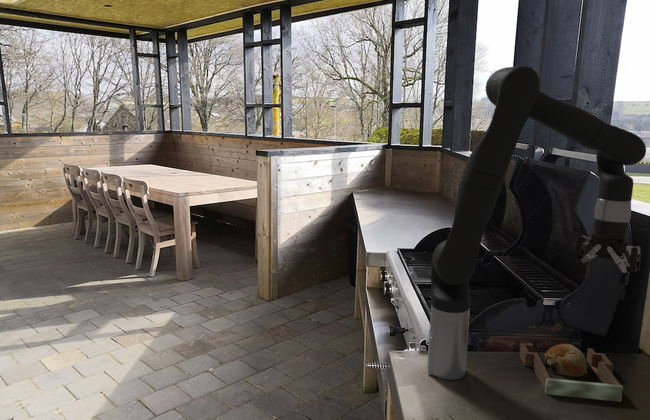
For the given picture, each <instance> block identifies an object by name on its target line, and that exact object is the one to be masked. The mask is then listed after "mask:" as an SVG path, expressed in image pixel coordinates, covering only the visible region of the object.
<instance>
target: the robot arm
mask: <svg viewBox="0 0 650 420" xmlns="http://www.w3.org/2000/svg"><path fill="white" fill-rule="evenodd" d="M540 88H541V80H540V77H539V75H538V73H537V72H536V70H535V69H533V68H532V67H531V66H528V65H527V66H526V65H514V66H508V67H502V68H500V69H498V70H496V71H494V72H493V73H491V75H490V76H489V77H488V79H487V80H486V84H485V94H486V96H487V99H488V101H489V102H490V103H491V104H492V105H494V106H495V108H494V110H493V114H492V117H491V120H490V123H489V125H488V128H487V129H486V131H485V132H484V134H483V135H482V137H481V138H480V140H479V141H478V142H477V145H475V146H474V149H473V150H472V152H471V153H470V155H469V157H468V158H467V160H466V163H465V167H464V169H463V170H462V171H463V172H462V175H461V177H460V181H459V183H458V189H457V194H456V200H455V208H454V215H453V222H452V226H451V228H450V232H449V234H448V235H447V236H448V237H447V238H446V240H442V241H441V242H440V243H439V244H437V245H436V247H435V249H434V250H433V252H432V253H433V254H432V259H431V276H430V277H431V279H430V282H431V284H430V292H431V293H430V294H431V304H430V305H431V306H430V320H429V321H430V322H429V331H428V345H427V346H428V347H427V348H428V349H427V350H428V351H427V354H428V355H427V374H428V375H430V376H435V377H436V378H438V379H439V378H440V379H443V380H450V381H451V380H460V379H462V378H464V377H465V375H466V369H467V355H468V354H467V353H468V341H469V324H470V311H471V294H470V293H471V292H470V278H472V276H473V274H474V272H475V271H476V265H477V261H478V257H479V252H480V248H481V244H482V241H483V237H484V233H485V231H486V228H487V225H488V223H489V221H490V219H491V216H492V214H493V211H494V209H495V206H496V203H497V201H498V198H499V196H500V194H501V190H502V189H503V185H504V182H505V179H506V176H507V173H508V170H509V166H510V164H511V161H512V159H513V156H514V154H515V153H514V152H515V150H516V148H517V147H516V146H517V145H518V144H517V143H518V141H519V139H520V136H521V133H522V131H523V128H524V127H525V124H526V122H527V120H528V118H529V119H532V120H533V121H536V122H538V123H540V124H542V125H544V126H545V127H547V128H549V129H551V130H552V131H554V132H556V133H558V134H559V135H561V136H563V137H565V138H566V139H568V140H570V141H572V142H574V143H576V144H578V145H579V146H581V147H582V148H584V149H588V150H594V151H596V154H595V155H596V165H597V175H598V179H599V184H598V192H597V199H596V203H595V207H594V216H593V223H592V230H591V234H592V235H591V237H588V236H587V235H586V234H585V235H579V236H578V237H577V241H576V247H575V252H574V258H575V259H576V260H579V261H581V262H580V263H581V266H580V267H581V268H580V274H581V275H582V278H585V279H588V278H589V277H590V273H591V265H592V262H591V261H592V260H593V259H595V257H597V258H600V259H607V260H609V261H614V263H615V265H616V266H618V268H619V270H620V272H619V277H618V284H617V286H618V288H621V289H622V288H624V287H626V286H628V284H629V278H630V274H631V273H635V272H638V271H640V269H641V259H642V247H641V246H640V245H637V246H633V245H628V236H629V231H630V230H629V228H630V222H631V218H632V198H633V191H634V179H633V178H632V177H631V176H629V175H628V174H627V173H625V166H632V165H636V164H638V163H640V162H641V161H642V160H643V159H644V158H645V156H646V153H647V146H646V144H645V141H644V140H643V139H642V138H641V137H640V136H638V135H637V134H635V133H633V132H630V131H628V130H626V129H623V128H620V127H618V126H616V125H612V124H609V123H608V122H605V121H603V120H602V119H601V118H599V117H597V116H596V115H594V114H592V113H590V112H589V111H587V110H584V109H583V108H580V107H577V106H576V105H573V104H570V103H567V102H565V101H563V100H562V101H561V100H559V99H557V98H554V97H552V96H550V95H547V94H546V93H544V92H542V91H540ZM587 245H590V247H591V248H592V249H591V250H589V252H587V254H585V252H586V246H587ZM626 251H627V252H628V254H629V256H630V261H629V262H630V263H629V262H628V259H627V257H626V255H625V254H624V253H625V252H626Z"/></svg>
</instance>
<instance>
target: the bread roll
mask: <svg viewBox="0 0 650 420" xmlns="http://www.w3.org/2000/svg"><path fill="white" fill-rule="evenodd" d="M543 365H544V367H545V368H547V369H548V370H549V371H551V372H553V373H555V374H558V375H561V376H565V377H569V378H570V377H574V378H576V377H582V376H585V375H587V374H588V370H587V368H588V367H587V359H586V357H585V354H584V353H583V352H582V351H581V350H580V349H579V348H577V347H576V346H574V345H572V344H568V343H560V344H556V345H554V346H551V347H550V348H549V349H548V350H546V351H545V353H544V354H543Z"/></svg>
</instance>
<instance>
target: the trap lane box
mask: <svg viewBox="0 0 650 420" xmlns="http://www.w3.org/2000/svg"><path fill="white" fill-rule="evenodd" d="M519 345H520V346H519V357H520V360H521V363H522V364H523V366H524V367H529V368H530V367H532V368H533V371H534V373H535V375H536V376H537V378H538V381H539V383H540V385H541V388H542V389H543V391H544V393H545V395H549V396H560V397H571V398H579V399H580V398H581V399H588V400H590V399H591V400H600V401H609V402H621V403H622V397H623V391H624V386H623V385H621V383H620V382H619V381H618V379H617V378H616V377H615V376H614V374H613V369H614V364H613V363H612V362H611V360H610V359H609V358H608V356H606V354H605V353H602V352H601V353H600V352H595V351H594V349H593V348H589V347H588V348H587V353H586V354H587V355H586V363H588V364H589V366H590V367H591V368H592V370H593V372H594V373H595V374H596V376H597V377H598V378H599V380H600V381H601V382H602V383H601V382H593V381H592V382H591V381H582V380H580V381H579V380H570V379H562V378H561V379H560V378H559V379H558V378H552V377H550V374H549V373H548V371H547V369H546V366H545V365H544V362H542V359H541V358H540V355H539V354H538V353H537V352H533V351H534V344H533V343H530V342H528V343H523V342H522V343H521V342H520V344H519Z"/></svg>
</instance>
